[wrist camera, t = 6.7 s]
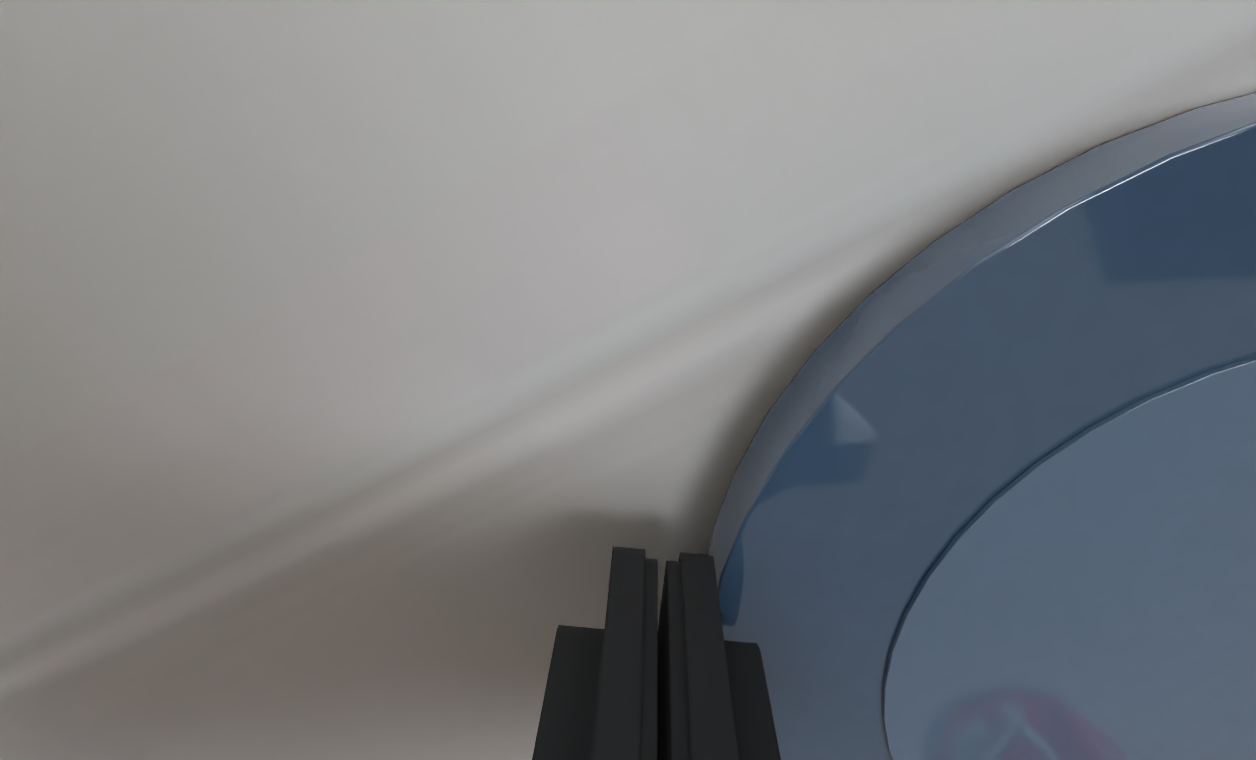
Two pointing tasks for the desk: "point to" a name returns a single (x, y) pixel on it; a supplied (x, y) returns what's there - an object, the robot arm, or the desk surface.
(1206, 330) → the plate
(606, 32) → the desk surface
